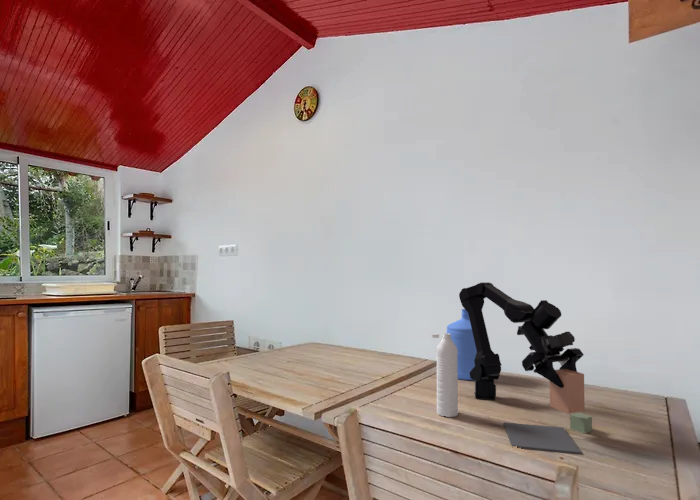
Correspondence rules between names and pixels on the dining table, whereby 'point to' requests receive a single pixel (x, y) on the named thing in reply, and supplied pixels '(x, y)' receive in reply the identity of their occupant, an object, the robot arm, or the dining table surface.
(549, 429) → the charcoal mat
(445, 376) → the water bottle
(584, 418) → the olive block
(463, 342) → the water jug
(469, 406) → the dining table surface
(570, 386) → the pink upright block
